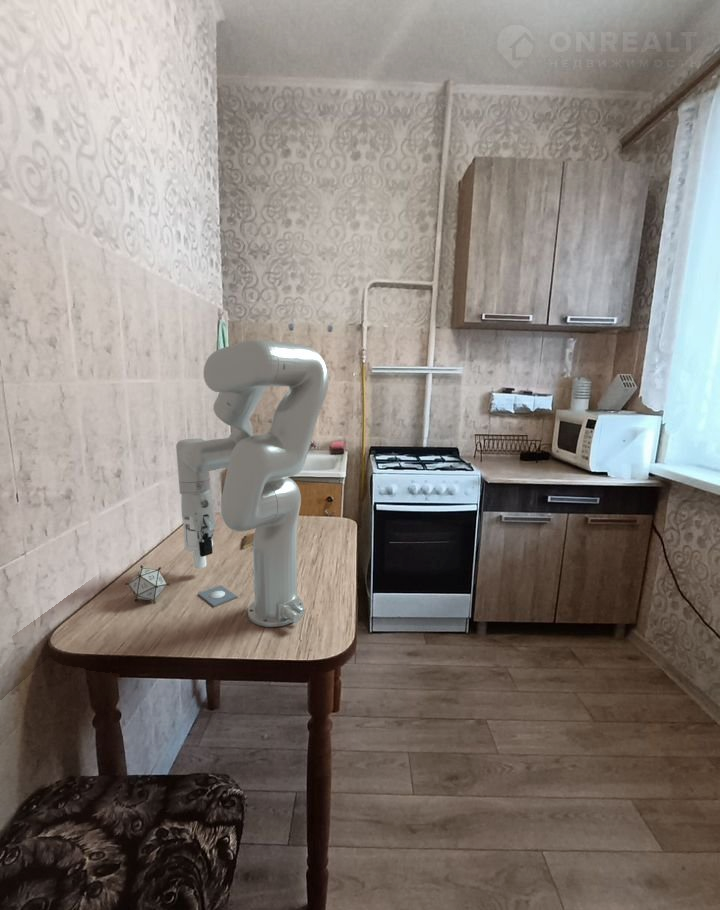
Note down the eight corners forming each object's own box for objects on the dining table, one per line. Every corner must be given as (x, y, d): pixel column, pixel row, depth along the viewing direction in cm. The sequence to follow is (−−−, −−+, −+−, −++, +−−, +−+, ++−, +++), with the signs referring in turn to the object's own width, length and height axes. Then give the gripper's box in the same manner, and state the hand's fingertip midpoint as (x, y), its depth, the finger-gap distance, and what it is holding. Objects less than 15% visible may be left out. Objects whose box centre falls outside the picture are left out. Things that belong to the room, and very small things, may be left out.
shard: (242, 551, 129) (242, 545, 129) (227, 545, 134) (227, 540, 134) (269, 541, 138) (269, 536, 138) (254, 535, 142) (254, 530, 142)
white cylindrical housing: (182, 571, 107) (177, 516, 105) (192, 560, 114) (188, 508, 112) (209, 571, 107) (205, 515, 105) (217, 560, 114) (214, 508, 112)
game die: (143, 612, 100) (129, 574, 103) (178, 595, 103) (164, 558, 105) (129, 613, 92) (115, 572, 94) (168, 594, 94) (152, 554, 97)
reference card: (237, 597, 100) (237, 595, 100) (214, 607, 96) (213, 605, 96) (220, 586, 106) (220, 584, 106) (198, 594, 102) (198, 592, 101)
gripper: (224, 488, 104) (228, 555, 107) (193, 479, 116) (198, 539, 119) (196, 494, 99) (201, 564, 102) (166, 483, 111) (171, 547, 113)
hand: (199, 550), depth 110 cm, fingers closed on white cylindrical housing, 6 cm apart
